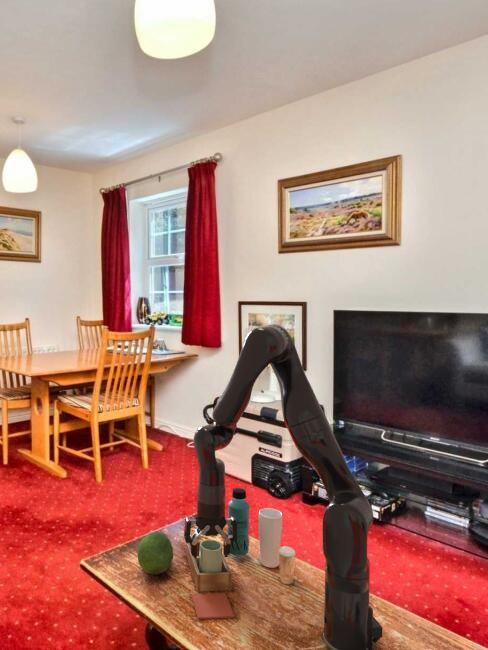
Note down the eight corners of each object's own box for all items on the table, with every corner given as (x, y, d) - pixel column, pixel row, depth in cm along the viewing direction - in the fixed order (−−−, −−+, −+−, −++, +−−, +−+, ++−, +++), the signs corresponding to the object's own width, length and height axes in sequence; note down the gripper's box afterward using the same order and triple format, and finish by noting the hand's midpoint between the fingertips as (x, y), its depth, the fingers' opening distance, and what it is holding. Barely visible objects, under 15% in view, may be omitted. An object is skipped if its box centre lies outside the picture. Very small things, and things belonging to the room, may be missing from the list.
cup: (218, 574, 137) (219, 539, 136) (224, 587, 131) (224, 550, 130) (197, 575, 136) (198, 539, 136) (201, 588, 130) (202, 551, 130)
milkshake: (291, 589, 130) (292, 552, 130) (274, 580, 134) (275, 544, 134) (301, 583, 133) (302, 546, 132) (284, 574, 137) (285, 539, 137)
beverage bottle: (222, 552, 148) (223, 487, 147) (240, 548, 151) (241, 483, 150) (235, 563, 142) (236, 495, 142) (253, 558, 145) (254, 491, 144)
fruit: (147, 551, 148) (147, 519, 148) (179, 556, 146) (179, 523, 145) (131, 579, 134) (132, 543, 134) (167, 585, 131) (167, 548, 131)
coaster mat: (225, 594, 127) (225, 592, 127) (234, 617, 118) (234, 615, 118) (191, 596, 127) (191, 594, 127) (197, 619, 118) (197, 617, 118)
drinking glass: (282, 571, 138) (283, 519, 138) (258, 568, 140) (258, 516, 139) (280, 558, 145) (281, 508, 144) (257, 556, 146) (258, 506, 146)
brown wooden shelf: (216, 555, 147) (216, 540, 147) (231, 590, 129) (231, 573, 129) (186, 556, 146) (186, 541, 146) (197, 591, 129) (197, 575, 128)
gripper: (187, 504, 128) (186, 564, 129) (240, 503, 130) (239, 563, 130) (183, 492, 136) (182, 549, 136) (233, 491, 137) (232, 548, 138)
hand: (210, 556), depth 133 cm, fingers open, 8 cm apart
